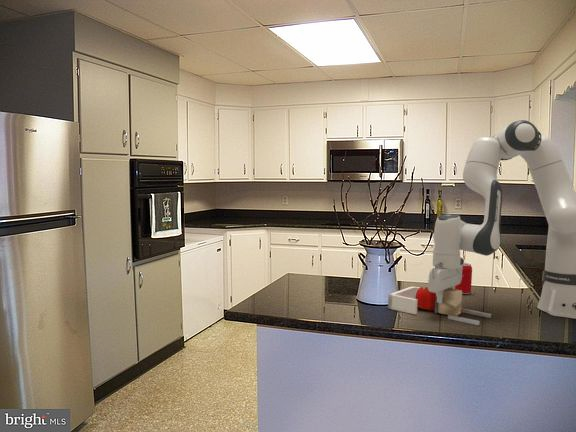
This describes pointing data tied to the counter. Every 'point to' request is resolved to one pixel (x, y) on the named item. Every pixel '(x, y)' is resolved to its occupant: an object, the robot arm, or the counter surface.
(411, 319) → the counter surface
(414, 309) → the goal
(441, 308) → the beige block
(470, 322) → the track
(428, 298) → the tomato
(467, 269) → the beverage can
